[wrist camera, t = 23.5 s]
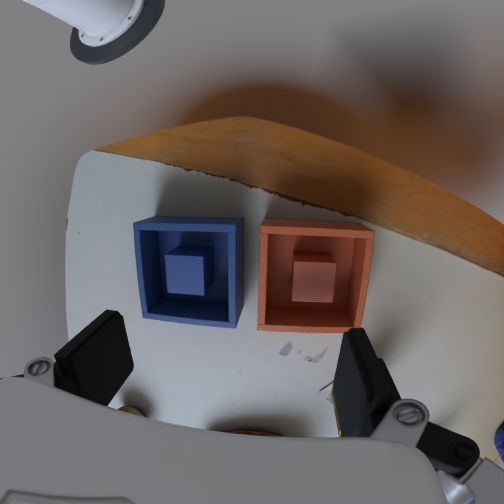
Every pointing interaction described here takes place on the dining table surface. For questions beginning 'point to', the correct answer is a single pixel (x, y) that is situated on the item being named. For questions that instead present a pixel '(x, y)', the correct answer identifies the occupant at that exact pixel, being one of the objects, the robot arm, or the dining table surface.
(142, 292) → the blue bin
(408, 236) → the dining table surface
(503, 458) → the planter
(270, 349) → the dining table surface
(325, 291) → the terracotta block
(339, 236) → the terracotta bin
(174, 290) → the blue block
